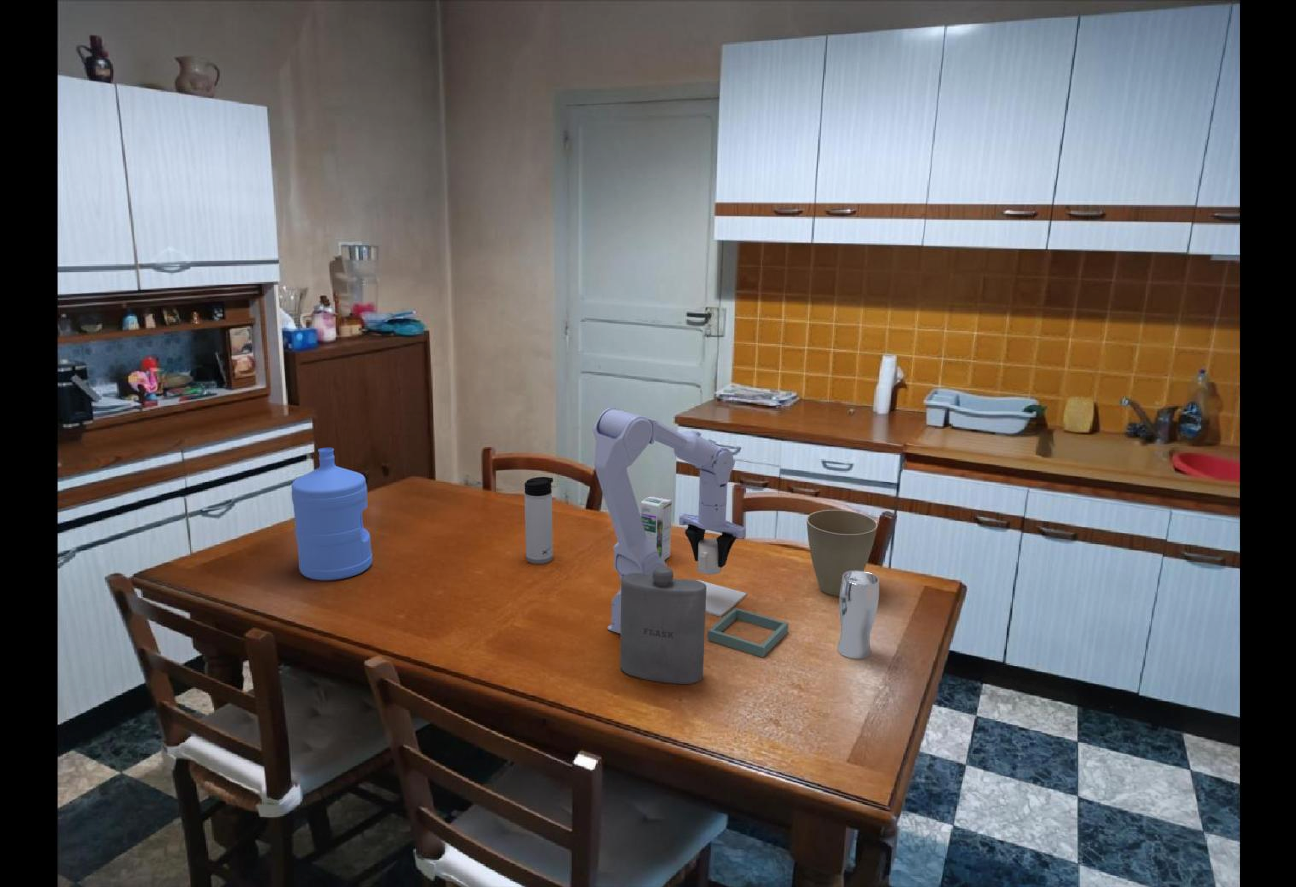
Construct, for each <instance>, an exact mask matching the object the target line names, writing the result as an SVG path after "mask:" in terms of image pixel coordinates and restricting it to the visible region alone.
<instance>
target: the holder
mask: <svg viewBox="0 0 1296 887" xmlns="http://www.w3.org/2000/svg"><path fill="white" fill-rule="evenodd" d="M736 620H738V621H741V622H745V623H748V624H751V625H755V626H758V627H762V628H765V629H768V630H772V631H774V632H772V634H771V635H770V636H769V637H767V639H766V640H765V641H764V642H763V643H762V644H761V643H757V642H754V641H751V640H746V639H745V638H744V639H743V638H741V637H737V636H734V635H730V634H727V633H724V631H725V630H726V629H727V628H728V627H730V626H731V624H732V623H734V621H735V622H736ZM788 632H789V622H786V621H782V620H780V619H776V618H772V617H769V616H766V615H763V614H759V613H756V612H751V611H748V610H745V609H741V608H738V607H733V608H732V610H729V611H728V612H727V614H725V615H723V616H722V618H721V619H719V621H717V622H716V623H715V624H714V625H712V627H710V628H709V629H708V630H707V641H709V642H712V643H715V644H718V645H722V646H725V647H729V648H732V649H735V650H738V651H741V652H744V653H747V654H750V655H754V656H757V657H760V658H764V657H765V656H767V655H768V653H769V652H770V651H771V650H772V649H773V648H774V647H775V646H776V645H777V644H778V643H779V642H780V641H781V640H782V639H783V638H784V637H785V635H787V634H788Z"/></svg>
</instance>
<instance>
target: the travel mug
mask: <svg viewBox="0 0 1296 887" xmlns="http://www.w3.org/2000/svg"><path fill="white" fill-rule="evenodd" d="M553 482H554V478H553V477H550V476H549V477H548V476H537V477H532V478H529V479H527V480H526V481H525V482H524V519H525V520H524V522H525V523H524V524H525V526H524V527H525V553H526V554H525V559H526V561H527V562H529V563H530V564H534V565H542V564H547V563H549V562H551V561H552V560H553V558H554V557H553V556H554V554H553V552H554V550H553V548H554V544H553V539H554V538H553V494H552V493H553V491H552V483H553Z"/></svg>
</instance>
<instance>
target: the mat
mask: <svg viewBox="0 0 1296 887" xmlns="http://www.w3.org/2000/svg"><path fill="white" fill-rule="evenodd" d="M697 581H700V582H702V583H704V584H705V585H706V612H705V614H709V615H713V616H716V617H719V618H721V617H722V618H723V617H724V616H725V615H726V613H728V612H730V611H731V609H733V608H734V607H735V606H736V605H737V604H738V603H739V602H741V601H742V600H743V599H744V598H745V597H747V592H743V591H740V590H736V589H733V588H728V587H725V586H722V585H718V584H714V583H710V582H706V581H703V580H701V579H697Z"/></svg>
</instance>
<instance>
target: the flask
mask: <svg viewBox="0 0 1296 887" xmlns="http://www.w3.org/2000/svg"><path fill="white" fill-rule="evenodd" d="M697 580H698V579H697ZM697 580H696V579H688V578H687V579H685V578H684V579H683V578H674V570H673V569H671V568H670V567H668V566H667V567H657V568H655V569H654V570H653V576H651V575H646V574H642V573H630V574H627V575H625V576H623V577H622V579H621V580H620V588H621V634H620V655H619V656H620V666H619V668H620V670H621V672H623V673H624V674H626V675H629V676H631V677H634V678H638V679H640V680H641V679H642V680H646V681H651V682H657V683H663V684H664V683H665V684H676V685H693V684H696V683H699V682H700V681H702V680H703V678H704V660H705V659H704V656H705V636H706V635H705V634H706V613H705V612H706V585H705V584H704V583H702V582H700V581H701V580H700V581H697Z"/></svg>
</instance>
